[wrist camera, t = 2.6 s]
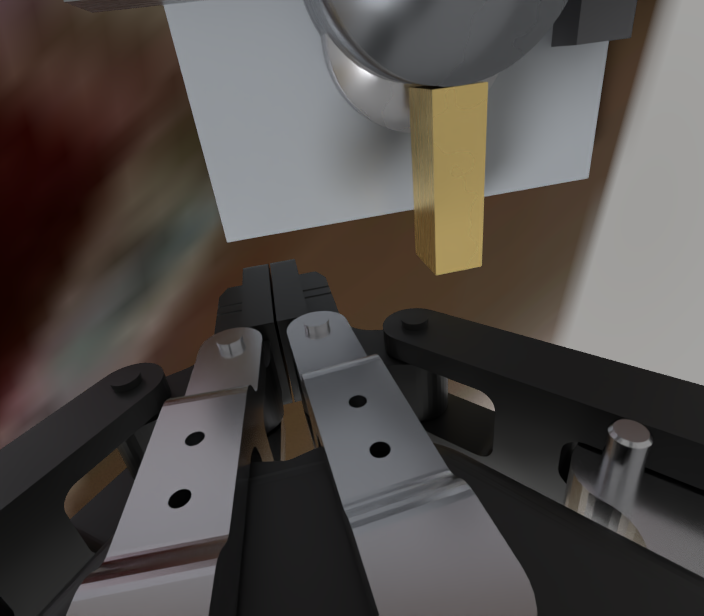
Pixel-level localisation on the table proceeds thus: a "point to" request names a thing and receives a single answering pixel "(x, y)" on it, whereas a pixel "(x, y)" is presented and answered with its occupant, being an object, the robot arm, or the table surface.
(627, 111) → the table surface
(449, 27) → the valve handle
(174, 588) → the robot arm
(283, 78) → the stand
